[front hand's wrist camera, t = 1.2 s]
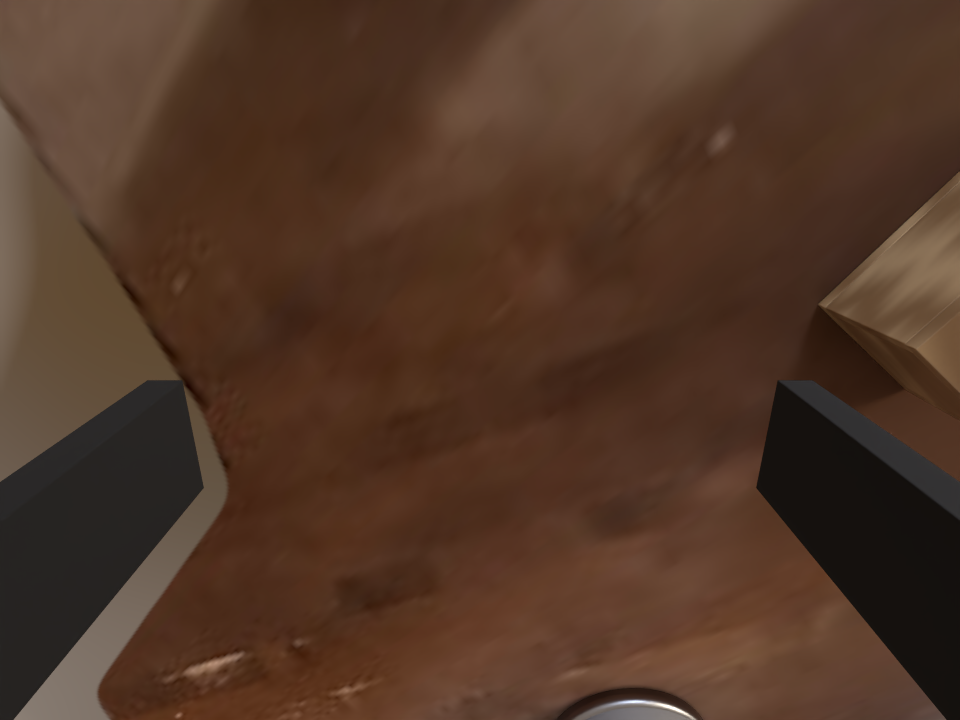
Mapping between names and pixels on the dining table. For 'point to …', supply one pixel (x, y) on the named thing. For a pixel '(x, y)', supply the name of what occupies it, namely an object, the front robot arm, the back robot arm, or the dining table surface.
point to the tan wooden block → (911, 302)
